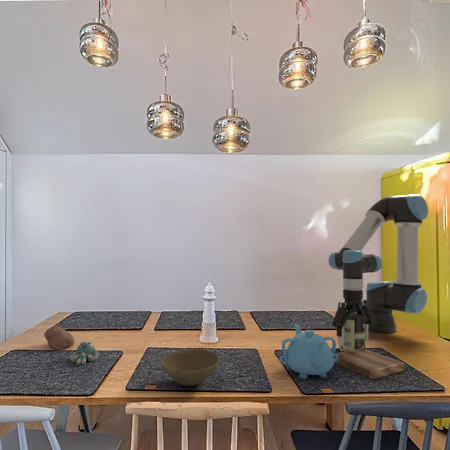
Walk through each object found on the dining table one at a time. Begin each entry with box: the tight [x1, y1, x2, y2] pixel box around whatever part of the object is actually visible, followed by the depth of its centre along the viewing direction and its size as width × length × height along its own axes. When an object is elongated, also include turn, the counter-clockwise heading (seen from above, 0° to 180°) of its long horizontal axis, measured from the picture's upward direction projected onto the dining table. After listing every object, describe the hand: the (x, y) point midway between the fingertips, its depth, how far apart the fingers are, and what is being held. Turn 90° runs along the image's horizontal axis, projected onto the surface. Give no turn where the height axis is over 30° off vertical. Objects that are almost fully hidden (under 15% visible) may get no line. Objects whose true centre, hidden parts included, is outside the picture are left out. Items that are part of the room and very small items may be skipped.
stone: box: [43, 325, 75, 351], centre depth 149 cm, size 12×9×10 cm
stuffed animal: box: [68, 341, 100, 365], centre depth 132 cm, size 11×7×12 cm
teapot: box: [279, 323, 338, 380], centre depth 122 cm, size 16×20×14 cm
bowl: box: [159, 349, 220, 387], centre depth 112 cm, size 18×18×8 cm
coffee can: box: [338, 312, 366, 352], centre depth 145 cm, size 10×10×14 cm
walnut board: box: [333, 348, 406, 380], centre depth 127 cm, size 16×18×2 cm
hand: (353, 342), depth 144 cm, fingers open, 13 cm apart
